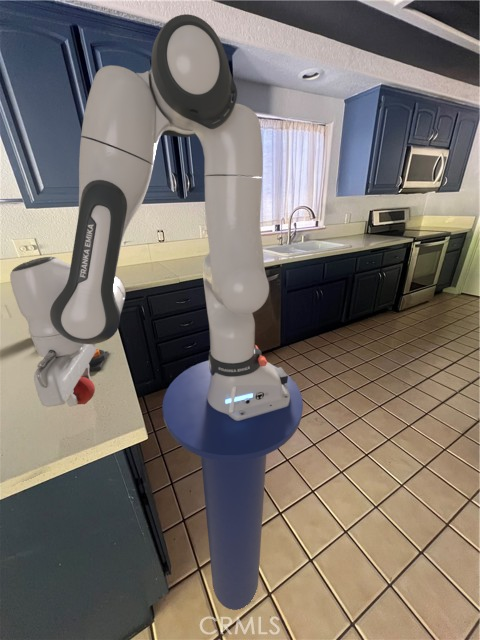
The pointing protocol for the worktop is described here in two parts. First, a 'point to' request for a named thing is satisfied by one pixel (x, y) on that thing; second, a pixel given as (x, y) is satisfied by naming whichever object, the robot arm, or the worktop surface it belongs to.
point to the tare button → (96, 353)
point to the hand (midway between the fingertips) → (80, 392)
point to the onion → (84, 390)
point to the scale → (98, 361)
